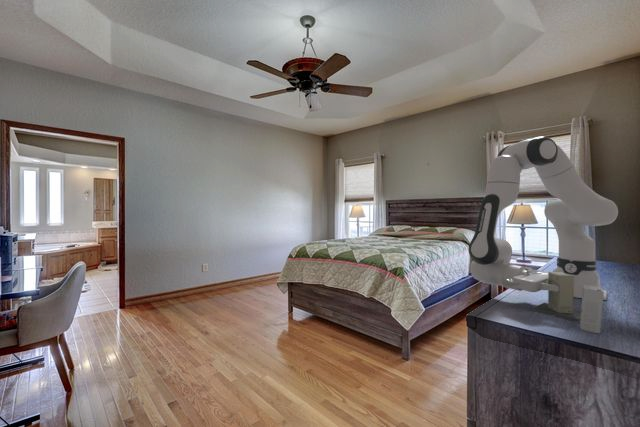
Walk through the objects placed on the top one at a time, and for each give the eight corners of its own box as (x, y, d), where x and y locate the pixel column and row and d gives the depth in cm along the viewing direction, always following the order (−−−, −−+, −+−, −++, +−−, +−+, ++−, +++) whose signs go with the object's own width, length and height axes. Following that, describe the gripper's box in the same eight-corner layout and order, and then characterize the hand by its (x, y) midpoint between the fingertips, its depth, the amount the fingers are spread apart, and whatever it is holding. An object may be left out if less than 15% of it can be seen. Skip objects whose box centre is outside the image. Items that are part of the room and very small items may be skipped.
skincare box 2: (579, 323, 88) (581, 283, 88) (600, 328, 85) (602, 286, 85) (580, 330, 83) (582, 287, 83) (602, 334, 81) (604, 290, 80)
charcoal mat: (544, 305, 105) (544, 302, 105) (588, 316, 95) (588, 313, 95) (532, 310, 99) (532, 307, 99) (578, 322, 89) (578, 319, 89)
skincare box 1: (573, 314, 93) (575, 276, 93) (558, 313, 94) (559, 275, 94) (561, 307, 99) (562, 271, 99) (546, 306, 100) (547, 271, 100)
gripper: (503, 272, 101) (552, 281, 90) (529, 266, 113) (575, 273, 101) (503, 290, 101) (551, 301, 90) (528, 282, 113) (574, 291, 102)
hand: (564, 286), depth 96 cm, fingers open, 8 cm apart
